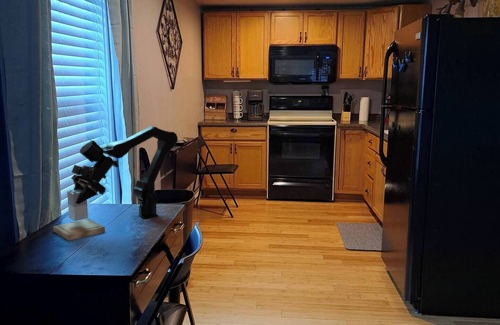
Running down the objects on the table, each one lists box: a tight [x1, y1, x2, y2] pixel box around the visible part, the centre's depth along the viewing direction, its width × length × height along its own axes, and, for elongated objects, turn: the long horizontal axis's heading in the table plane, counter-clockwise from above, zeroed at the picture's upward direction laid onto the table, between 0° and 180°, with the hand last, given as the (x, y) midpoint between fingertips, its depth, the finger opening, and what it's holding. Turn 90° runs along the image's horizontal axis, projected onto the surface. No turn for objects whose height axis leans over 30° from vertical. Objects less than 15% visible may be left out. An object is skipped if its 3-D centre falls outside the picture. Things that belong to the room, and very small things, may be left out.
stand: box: [52, 218, 106, 242], centre depth 159 cm, size 14×14×2 cm
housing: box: [66, 189, 89, 222], centre depth 157 cm, size 5×6×11 cm
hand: (73, 202), depth 156 cm, fingers closed on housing, 5 cm apart
